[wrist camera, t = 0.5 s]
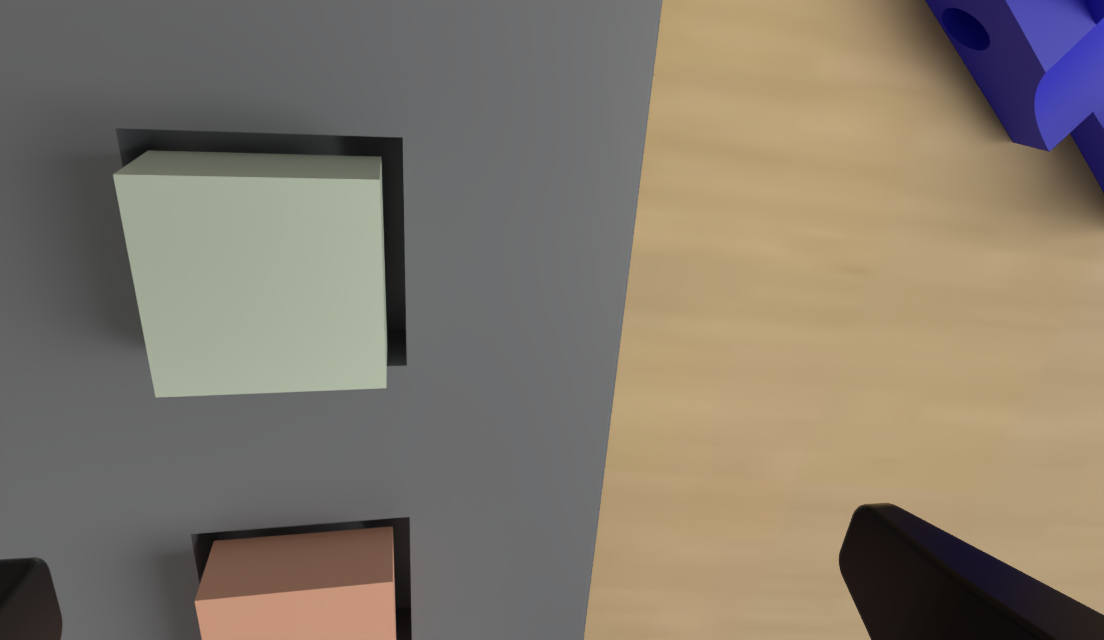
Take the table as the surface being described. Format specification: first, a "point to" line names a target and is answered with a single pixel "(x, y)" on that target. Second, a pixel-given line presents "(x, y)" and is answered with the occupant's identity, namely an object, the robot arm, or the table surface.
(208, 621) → the peach square block
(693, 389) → the table surface
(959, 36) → the cable clip
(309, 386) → the sage key
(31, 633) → the robot arm
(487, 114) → the keypad
